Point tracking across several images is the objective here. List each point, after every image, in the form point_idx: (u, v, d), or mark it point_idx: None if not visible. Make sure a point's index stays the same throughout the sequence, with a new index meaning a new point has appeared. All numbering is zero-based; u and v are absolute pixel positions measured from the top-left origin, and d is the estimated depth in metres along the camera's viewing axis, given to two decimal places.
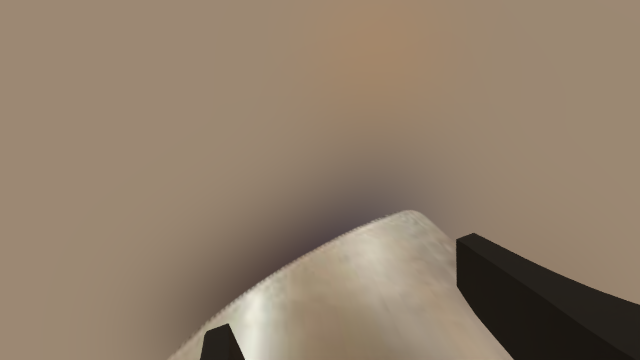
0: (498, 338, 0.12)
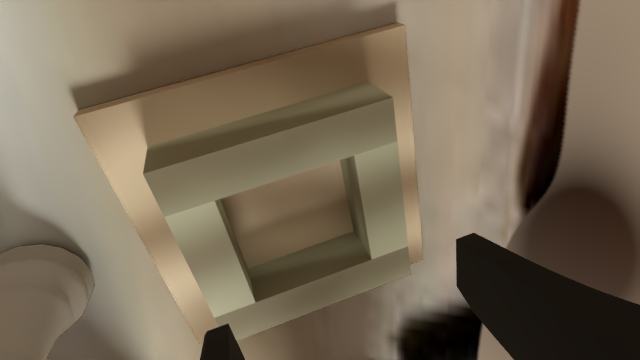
0: (498, 337, 0.12)
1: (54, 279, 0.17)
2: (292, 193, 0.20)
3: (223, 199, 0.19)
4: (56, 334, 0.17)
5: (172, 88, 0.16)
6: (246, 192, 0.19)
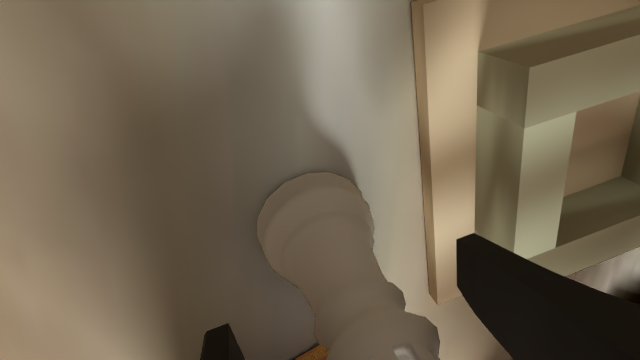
0: (497, 337, 0.12)
1: (360, 210, 0.14)
2: (585, 124, 0.17)
3: None
4: None
5: None
6: None
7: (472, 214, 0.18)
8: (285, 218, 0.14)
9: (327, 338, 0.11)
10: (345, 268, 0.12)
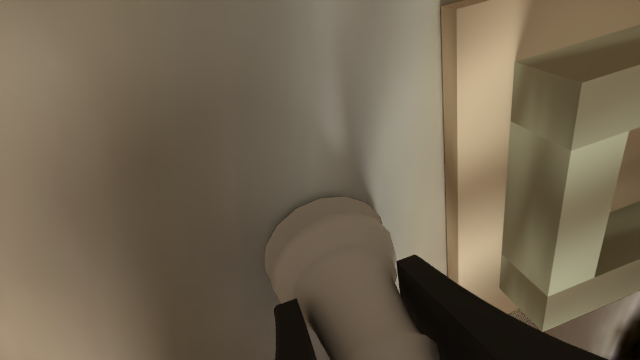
0: None
1: (381, 241, 0.13)
2: None
3: None
4: None
5: None
6: None
7: (500, 238, 0.16)
8: (297, 252, 0.12)
9: None
10: (370, 316, 0.10)
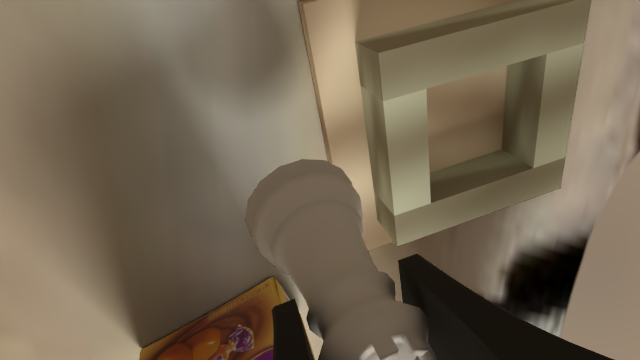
0: None
1: (352, 200, 0.15)
2: (461, 103, 0.21)
3: None
4: None
5: None
6: None
7: (369, 177, 0.21)
8: (279, 202, 0.14)
9: (320, 324, 0.11)
10: (341, 256, 0.12)
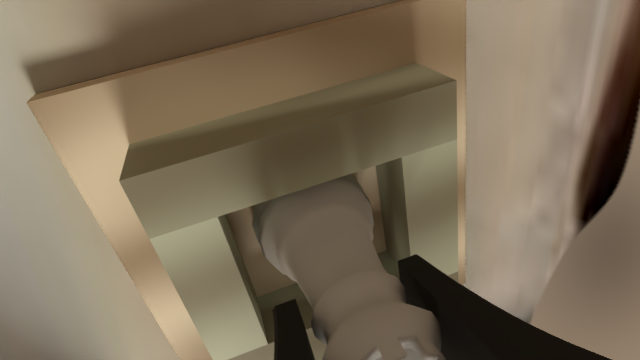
0: None
1: (362, 204, 0.14)
2: None
3: (228, 212, 0.15)
4: None
5: (162, 66, 0.12)
6: None
7: None
8: (285, 205, 0.13)
9: (325, 329, 0.10)
10: (347, 258, 0.11)
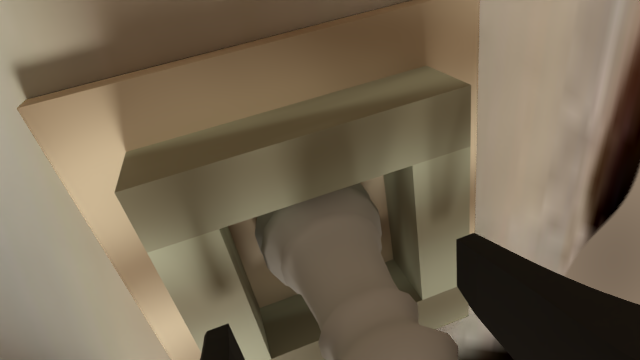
0: (497, 337, 0.12)
1: (370, 214, 0.13)
2: None
3: None
4: None
5: (160, 69, 0.11)
6: None
7: None
8: (290, 215, 0.13)
9: (333, 350, 0.10)
10: (357, 273, 0.11)
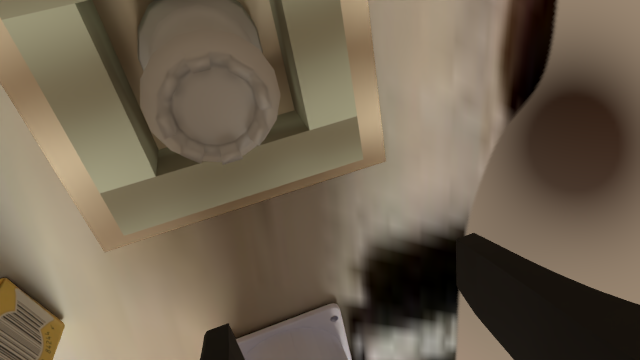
0: (497, 337, 0.12)
1: (242, 22, 0.14)
2: None
3: (113, 41, 0.15)
4: None
5: None
6: None
7: None
8: (157, 11, 0.13)
9: None
10: None
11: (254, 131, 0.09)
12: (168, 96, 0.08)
